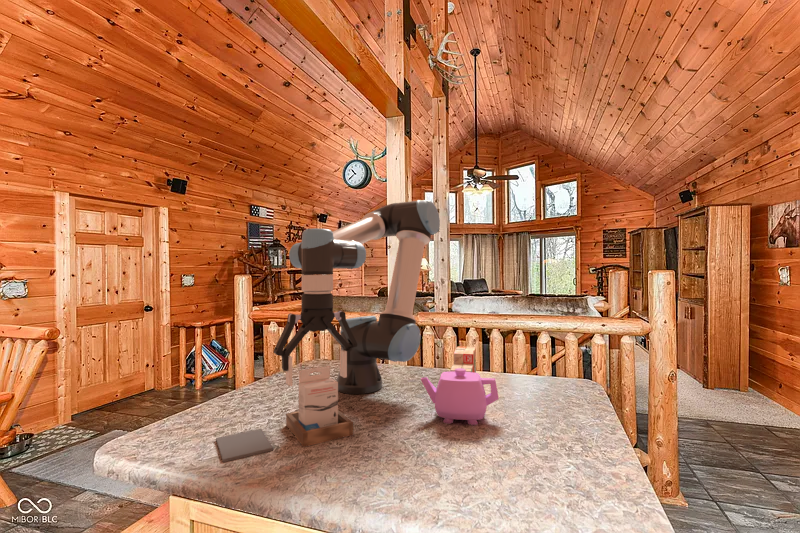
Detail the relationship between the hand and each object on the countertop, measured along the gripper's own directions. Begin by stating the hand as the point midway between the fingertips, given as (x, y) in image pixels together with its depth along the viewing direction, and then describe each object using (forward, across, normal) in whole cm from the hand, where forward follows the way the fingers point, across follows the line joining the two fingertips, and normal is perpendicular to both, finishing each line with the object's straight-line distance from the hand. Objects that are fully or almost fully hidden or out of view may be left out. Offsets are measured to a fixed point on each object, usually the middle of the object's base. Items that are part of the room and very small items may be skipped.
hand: (317, 380), depth 96 cm
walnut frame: (+12, 0, 0) cm, 12 cm away
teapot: (+12, -34, +12) cm, 38 cm away
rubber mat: (+12, +16, -1) cm, 21 cm away
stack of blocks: (+12, -50, -5) cm, 52 cm away
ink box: (+12, 0, 0) cm, 12 cm away
